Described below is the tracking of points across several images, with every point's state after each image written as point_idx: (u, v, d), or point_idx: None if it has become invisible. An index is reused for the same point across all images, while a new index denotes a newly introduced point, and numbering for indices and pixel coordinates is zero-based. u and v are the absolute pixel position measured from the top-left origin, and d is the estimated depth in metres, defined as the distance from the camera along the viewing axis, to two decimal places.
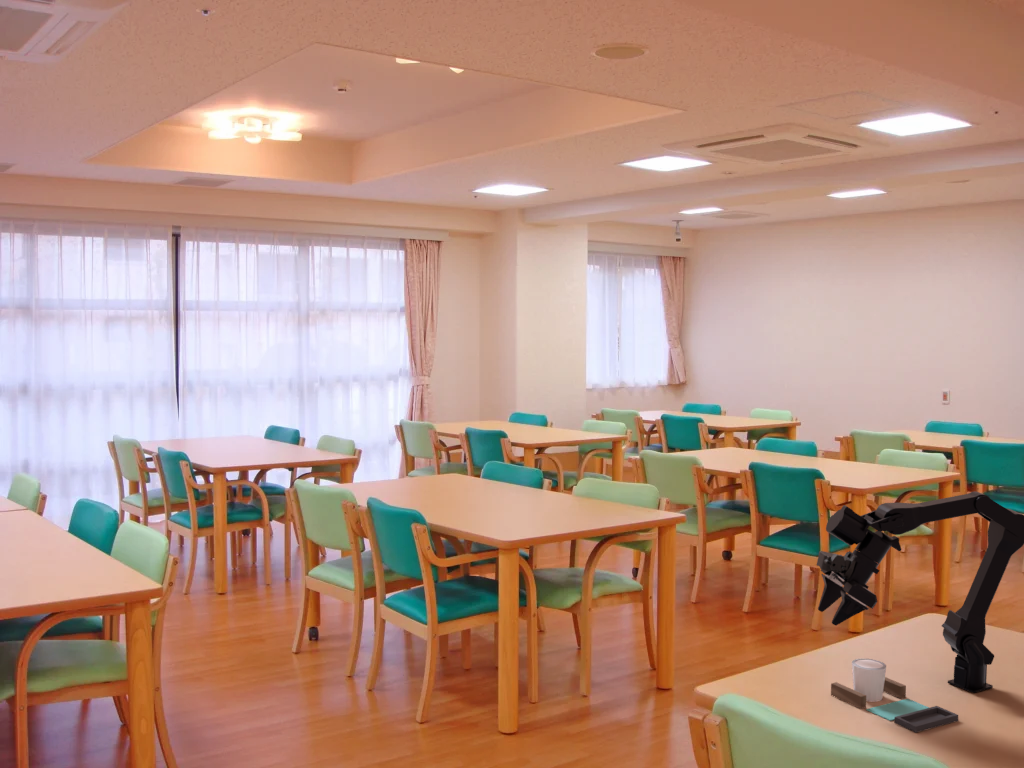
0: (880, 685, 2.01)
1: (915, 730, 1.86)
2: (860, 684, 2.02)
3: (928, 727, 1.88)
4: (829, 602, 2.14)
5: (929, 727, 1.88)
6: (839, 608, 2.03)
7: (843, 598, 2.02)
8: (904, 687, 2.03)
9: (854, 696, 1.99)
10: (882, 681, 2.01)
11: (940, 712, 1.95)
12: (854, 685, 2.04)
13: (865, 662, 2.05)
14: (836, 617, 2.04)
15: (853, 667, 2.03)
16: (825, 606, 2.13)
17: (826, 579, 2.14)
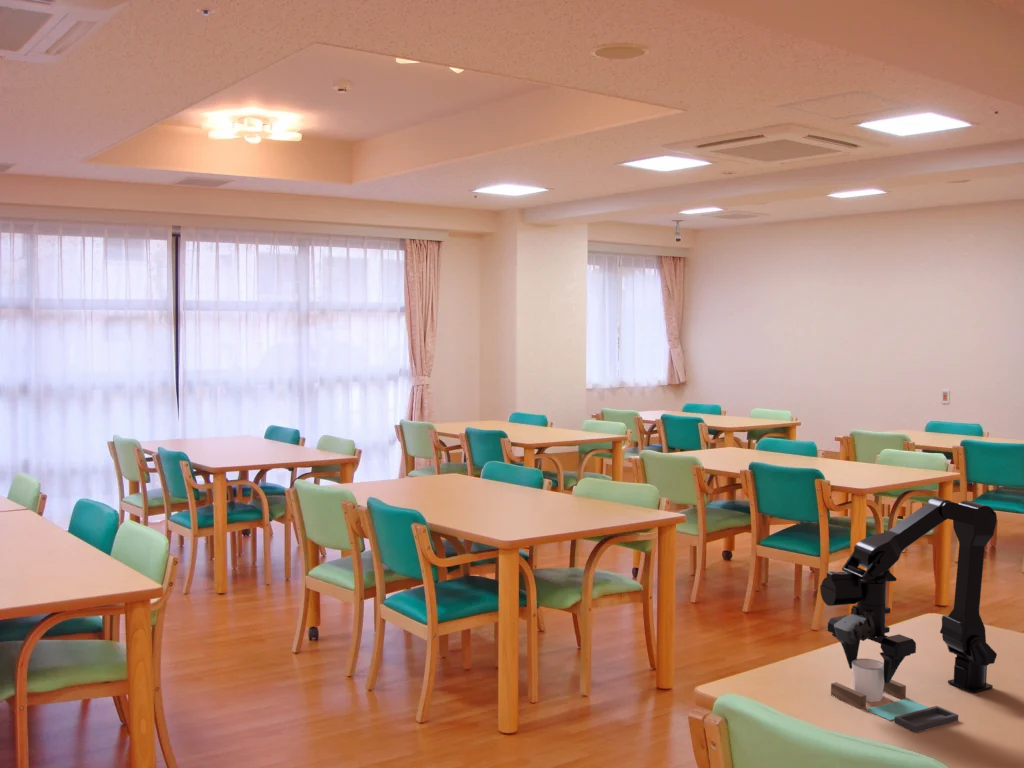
0: (880, 685, 2.01)
1: (915, 730, 1.86)
2: (860, 684, 2.02)
3: (928, 727, 1.88)
4: (855, 655, 2.08)
5: (929, 727, 1.88)
6: (886, 668, 1.98)
7: (887, 659, 1.97)
8: (904, 687, 2.03)
9: (854, 696, 1.99)
10: (882, 681, 2.01)
11: (940, 712, 1.95)
12: (854, 685, 2.04)
13: (865, 662, 2.05)
14: (887, 676, 1.99)
15: (853, 667, 2.03)
16: None
17: None
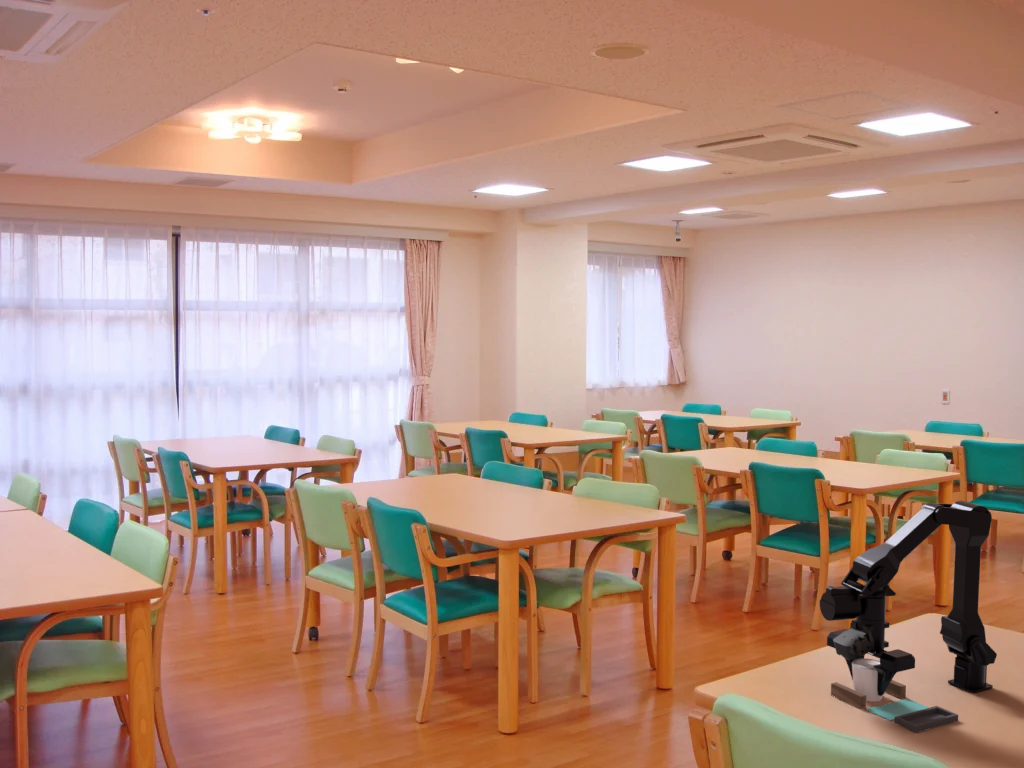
0: None
1: (915, 730, 1.86)
2: (860, 684, 2.02)
3: (928, 727, 1.88)
4: None
5: (929, 727, 1.88)
6: (880, 680, 2.00)
7: (880, 671, 1.98)
8: (904, 687, 2.03)
9: (854, 696, 1.99)
10: None
11: (940, 712, 1.95)
12: (854, 685, 2.04)
13: (865, 662, 2.05)
14: (881, 689, 2.00)
15: (853, 667, 2.03)
16: None
17: None
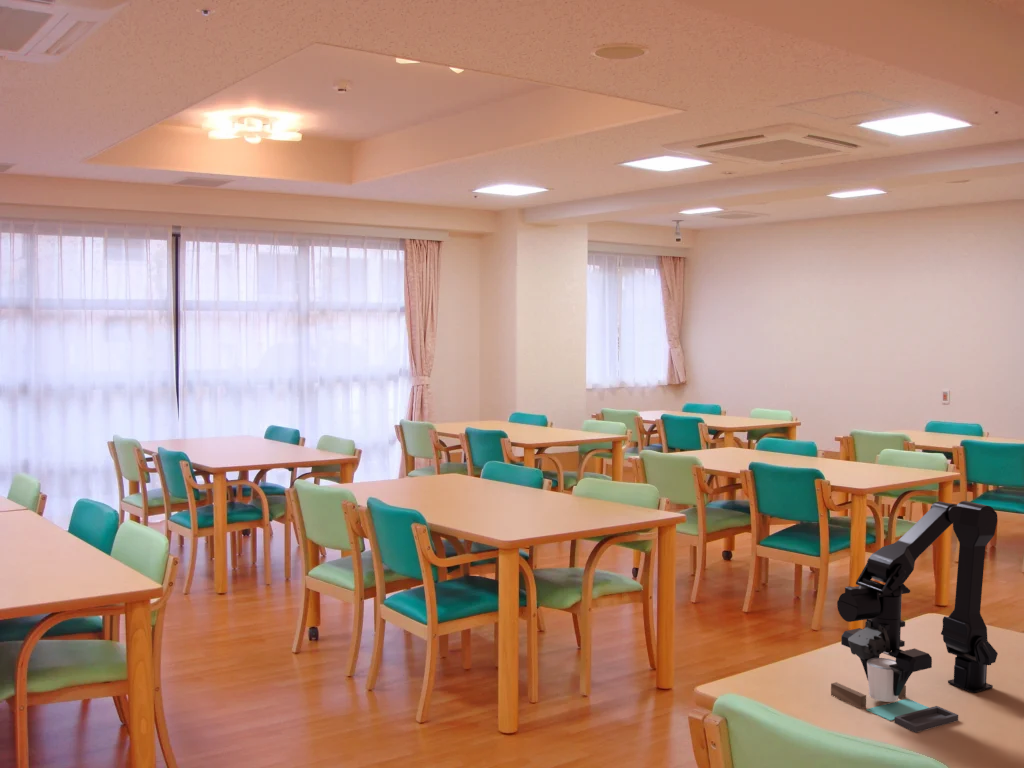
0: None
1: (915, 730, 1.86)
2: (875, 684, 1.98)
3: (928, 727, 1.88)
4: None
5: (929, 727, 1.88)
6: (896, 680, 1.96)
7: (896, 671, 1.95)
8: (904, 687, 2.03)
9: (854, 696, 1.99)
10: None
11: (940, 712, 1.95)
12: (869, 685, 2.00)
13: (880, 661, 2.01)
14: (897, 689, 1.97)
15: (868, 666, 2.00)
16: None
17: None
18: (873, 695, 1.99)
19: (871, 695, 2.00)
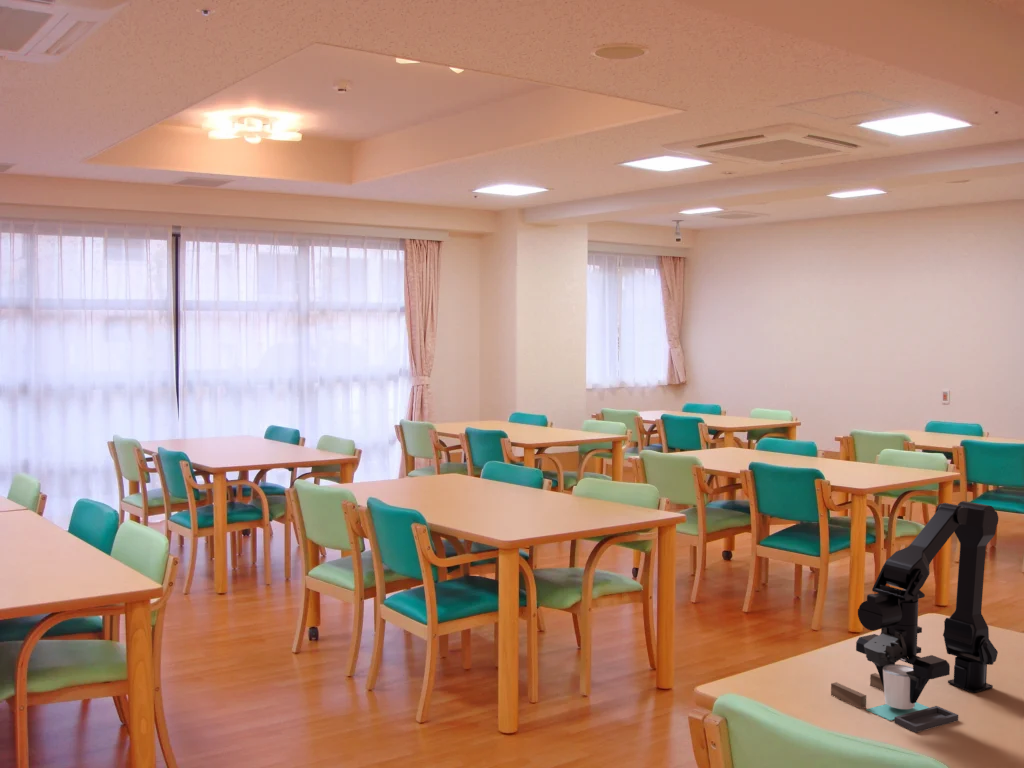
0: None
1: (915, 730, 1.86)
2: (892, 691, 1.95)
3: (928, 727, 1.88)
4: None
5: (929, 727, 1.88)
6: (913, 687, 1.93)
7: (913, 678, 1.91)
8: None
9: (854, 696, 1.99)
10: None
11: (940, 712, 1.95)
12: (885, 692, 1.97)
13: (896, 668, 1.97)
14: (914, 696, 1.93)
15: (884, 673, 1.96)
16: None
17: None
18: (889, 702, 1.96)
19: (887, 702, 1.96)
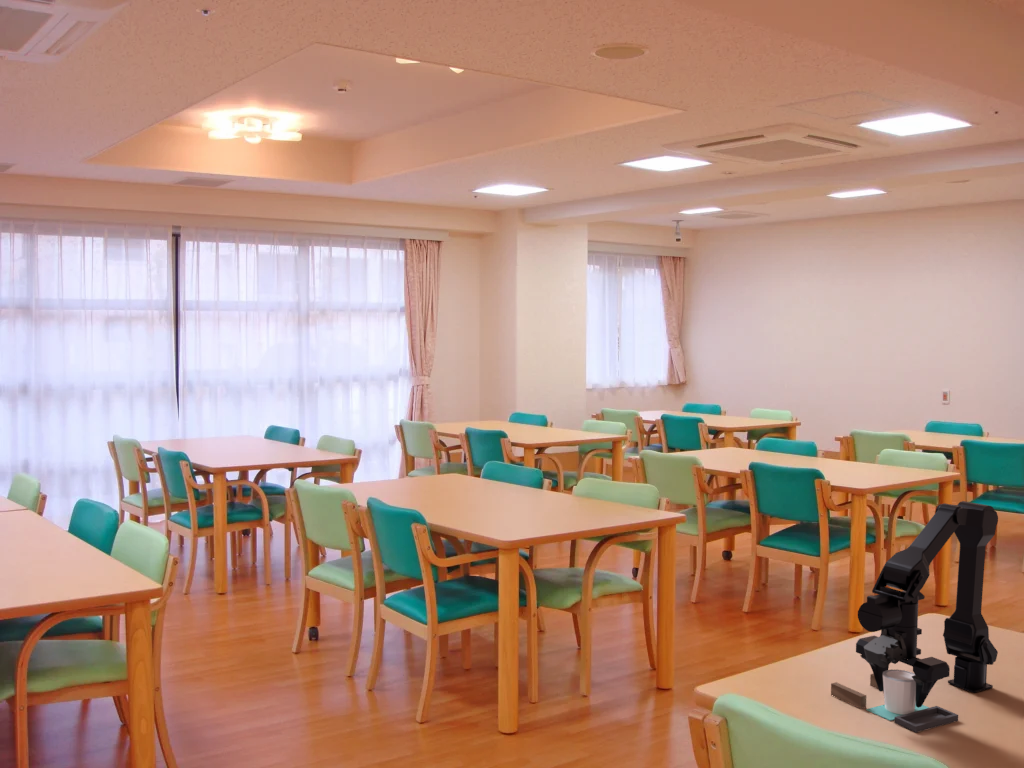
0: (913, 697, 1.94)
1: (915, 730, 1.86)
2: (892, 696, 1.95)
3: (928, 727, 1.88)
4: None
5: (929, 727, 1.88)
6: (918, 691, 1.91)
7: (919, 682, 1.90)
8: None
9: (854, 696, 1.99)
10: (915, 693, 1.94)
11: (940, 712, 1.95)
12: (885, 697, 1.97)
13: (896, 673, 1.98)
14: (919, 700, 1.92)
15: (884, 679, 1.96)
16: None
17: None
18: (889, 708, 1.96)
19: (887, 708, 1.96)
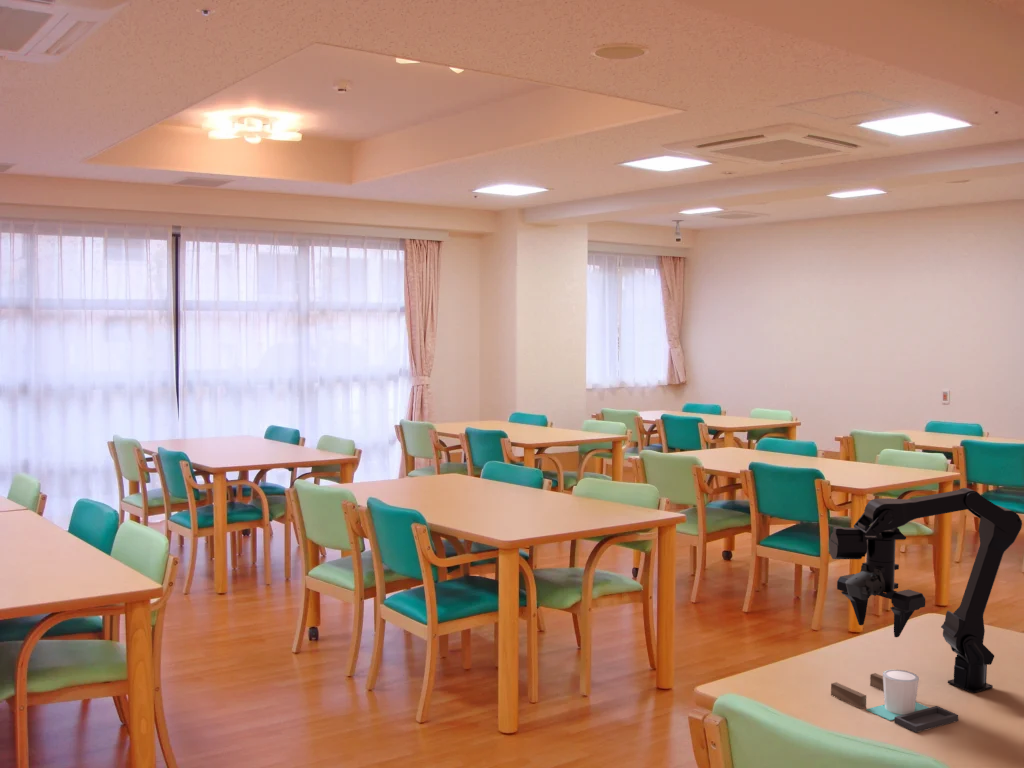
0: (913, 697, 1.94)
1: (915, 730, 1.86)
2: (892, 696, 1.95)
3: (928, 727, 1.88)
4: (863, 612, 2.13)
5: (929, 727, 1.88)
6: (896, 622, 2.04)
7: (897, 613, 2.02)
8: None
9: (854, 696, 1.99)
10: (915, 693, 1.94)
11: (940, 712, 1.95)
12: (885, 697, 1.97)
13: (896, 673, 1.98)
14: (897, 630, 2.04)
15: (884, 679, 1.96)
16: (863, 618, 2.13)
17: (852, 596, 2.12)
18: (889, 708, 1.96)
19: (887, 708, 1.96)
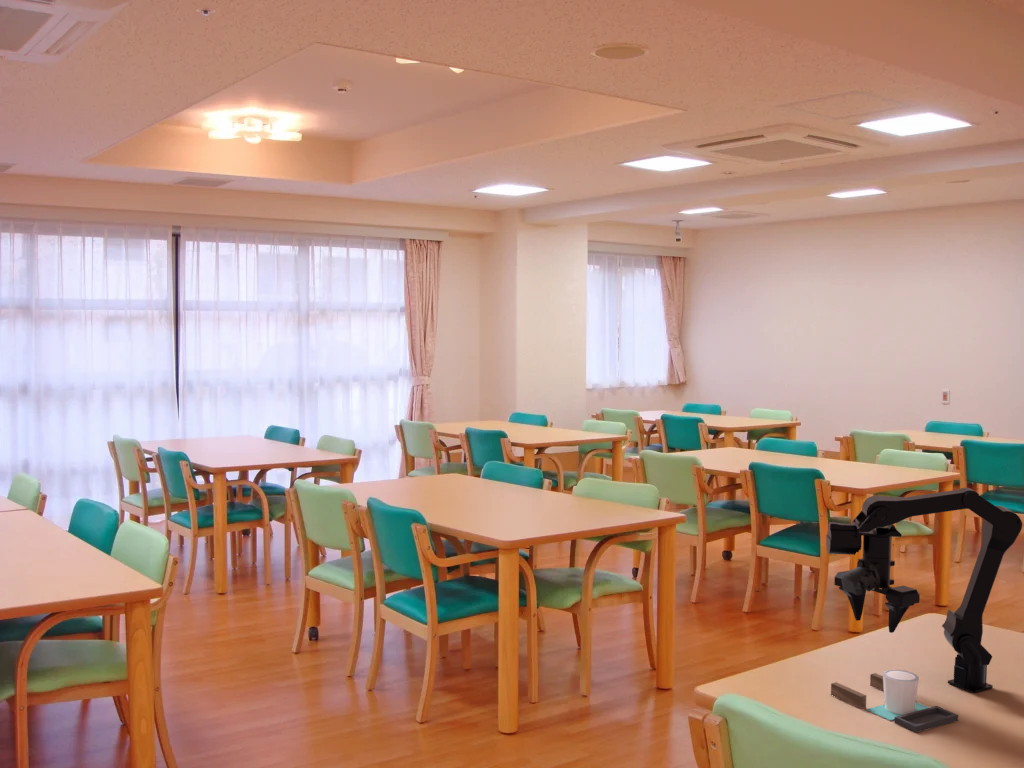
0: (913, 697, 1.94)
1: (915, 730, 1.86)
2: (892, 696, 1.95)
3: (928, 727, 1.88)
4: (860, 608, 2.16)
5: (929, 727, 1.88)
6: (891, 617, 2.07)
7: (891, 608, 2.05)
8: None
9: (854, 696, 1.99)
10: (915, 693, 1.94)
11: (940, 712, 1.95)
12: (885, 697, 1.97)
13: (896, 673, 1.98)
14: (892, 626, 2.07)
15: (884, 679, 1.96)
16: (860, 613, 2.16)
17: (849, 592, 2.15)
18: (889, 708, 1.96)
19: (887, 708, 1.96)
